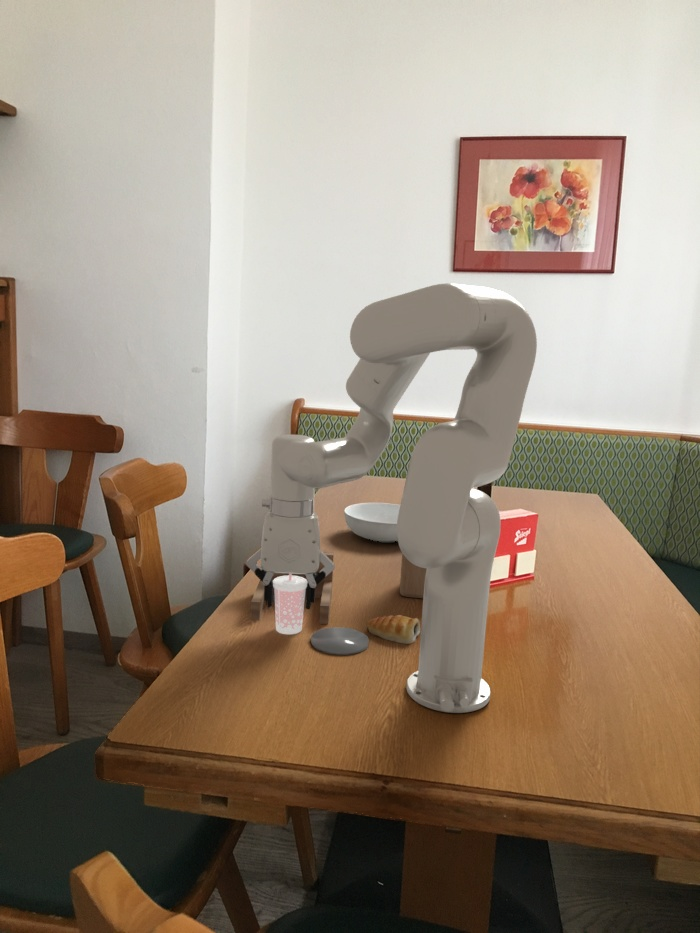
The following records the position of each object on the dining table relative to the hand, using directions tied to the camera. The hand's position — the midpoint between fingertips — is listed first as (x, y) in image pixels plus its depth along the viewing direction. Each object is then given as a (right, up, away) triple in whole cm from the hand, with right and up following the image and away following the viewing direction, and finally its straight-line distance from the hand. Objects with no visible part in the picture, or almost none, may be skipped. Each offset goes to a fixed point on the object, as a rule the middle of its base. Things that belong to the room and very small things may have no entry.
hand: (289, 604), depth 133 cm
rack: (0, -3, +11) cm, 12 cm away
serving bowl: (+19, +6, +61) cm, 64 cm away
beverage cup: (0, -5, +1) cm, 5 cm away
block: (+27, -2, +23) cm, 35 cm away
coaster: (+9, -6, -3) cm, 11 cm away
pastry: (+19, -6, +1) cm, 20 cm away
